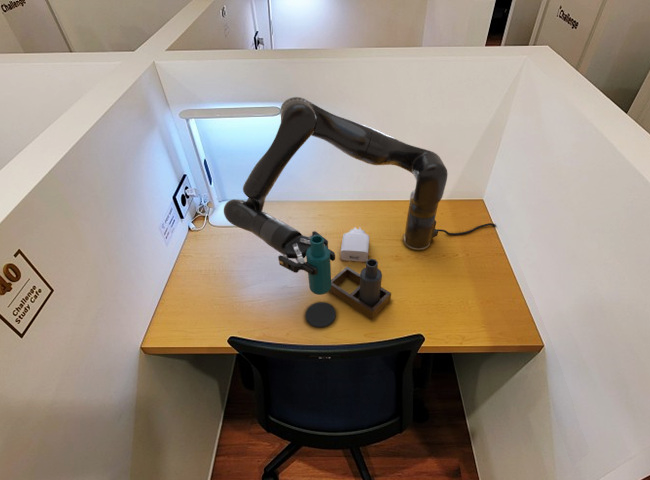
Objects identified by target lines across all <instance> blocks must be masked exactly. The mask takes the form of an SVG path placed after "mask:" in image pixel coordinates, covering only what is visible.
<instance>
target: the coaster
mask: <svg viewBox="0 0 650 480" xmlns="http://www.w3.org/2000/svg"><path fill="white" fill-rule="evenodd" d="M336 316H337V312H336V309H335V307H334V306H333V305H332V304H330V303H328V302H325V301H319V302H315V303H313V304H311V305H310V306H309V307H308V308H306V311H305V320H306V322H307V324H309V325H310V326H312V327H313V328H317V329H323V328H327V327H329V326H331V325H332V324H333V323H334V322H335V320H336Z"/></svg>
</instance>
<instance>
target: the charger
mask: <svg viewBox="0 0 650 480" xmlns="http://www.w3.org/2000/svg"><path fill="white" fill-rule="evenodd" d="M361 228H362V227H360V226H359V228H357V227H356V226H354V228H352V229H350V230H349V231H348V232H344V233H343V235H342V240H341V247H340V254H339V255H340V260H342V261H348V262H360V263H361V262H362V263H366V261H367V260H369V250H370V235H369V234H368V233H366V231H365V230H363V229H361Z"/></svg>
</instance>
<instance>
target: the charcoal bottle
mask: <svg viewBox="0 0 650 480" xmlns="http://www.w3.org/2000/svg"><path fill="white" fill-rule="evenodd" d="M378 266H379V261H377V259H375V258H368V260H367V261H365V267H364V268H362V269H361V270H360V273H359V274H360V285H359V286H360V295H359V298H358V299H359V300H360V301H362V302H363V303H365V304H366V305H368V306H369V307H371V308H373V307H374V306H375V305H376V304H377V303H378V302H379V301H380V300H381V298H380V290H381V287H382V281H383V280H382V279H383V273H382V271H381V270H380V268H379V267H378Z"/></svg>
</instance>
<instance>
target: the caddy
mask: <svg viewBox="0 0 650 480" xmlns="http://www.w3.org/2000/svg"><path fill="white" fill-rule="evenodd" d="M346 279H348V280H350V281H351V282H353V283H355V284H356V285H358V286H357V287H356V288H355V289H354V290H352V292H351V293H350V292H348V291H347V290H345V289H343V288H342V287H340V285H341V284H342V283H343V282H345V281H346ZM328 293H330V294H332V295H333V296H335V297H336V298H338V299H339V300H341V301H342V302H344V303H345V304H347V305H348V306H350V307H351V308H353V309H354V310H356V311H357V312H359V313H360V314H362V315H364V316H365V317H366V318H368V319H370V320H371V321H373V320H374V319H375V318H376V317H377V315H379V314H380V312H381V311H383V309H385V307H387V305H388V304H389V303H390V302H391V297H392V292H390V291H388V290H387V289H385V288H384V287H382V286H381V290H380V300H379V302H378V303H377V304H376V305H375V306H374V307H373V308H371V307H369V306H368V305H366V304H365V303H363V302H362V301H360V300H359V295H360V273H359V272H357V271H356V270H354V269H352V268H351V267H349V266H345V267H344V268H343V269H342V270H340V271H339V272H338V273H337V274H336V275H335V276H334V277H333V278H331V289H330V290H329V292H328Z"/></svg>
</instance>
